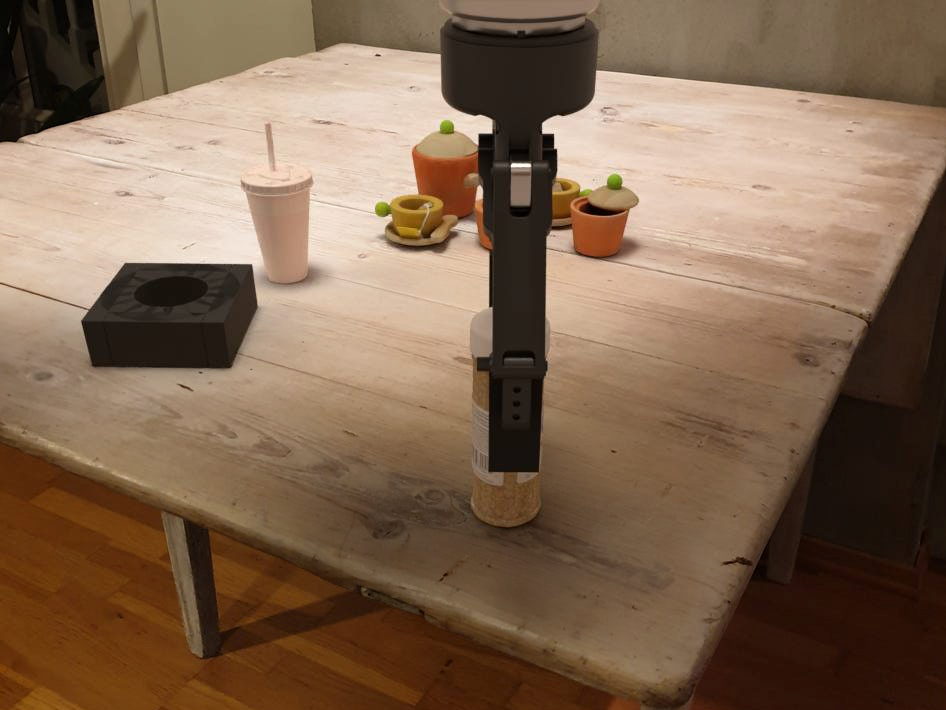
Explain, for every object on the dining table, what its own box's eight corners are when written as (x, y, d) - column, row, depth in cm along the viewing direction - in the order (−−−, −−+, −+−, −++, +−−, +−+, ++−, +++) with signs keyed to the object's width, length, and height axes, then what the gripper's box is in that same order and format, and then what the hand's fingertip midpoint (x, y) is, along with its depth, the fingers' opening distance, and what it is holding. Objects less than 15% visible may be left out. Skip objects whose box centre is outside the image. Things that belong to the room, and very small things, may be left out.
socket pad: (91, 366, 77) (80, 320, 74) (133, 304, 86) (124, 262, 83) (230, 367, 76) (223, 322, 74) (258, 305, 86) (252, 263, 83)
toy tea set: (368, 249, 96) (362, 152, 91) (403, 195, 109) (399, 107, 103) (632, 268, 93) (643, 169, 87) (636, 210, 105) (646, 120, 100)
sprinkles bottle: (550, 523, 61) (562, 332, 53) (480, 535, 60) (482, 343, 52) (527, 481, 64) (535, 297, 57) (461, 492, 63) (460, 306, 56)
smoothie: (302, 256, 95) (287, 109, 87) (334, 278, 90) (321, 127, 82) (241, 271, 91) (220, 121, 84) (271, 295, 87) (252, 140, 79)
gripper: (631, 84, 35) (593, 536, 47) (579, -26, 56) (561, 308, 68) (425, 83, 35) (439, 535, 47) (448, -26, 56) (454, 308, 68)
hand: (511, 402), depth 57 cm, fingers open, 13 cm apart
